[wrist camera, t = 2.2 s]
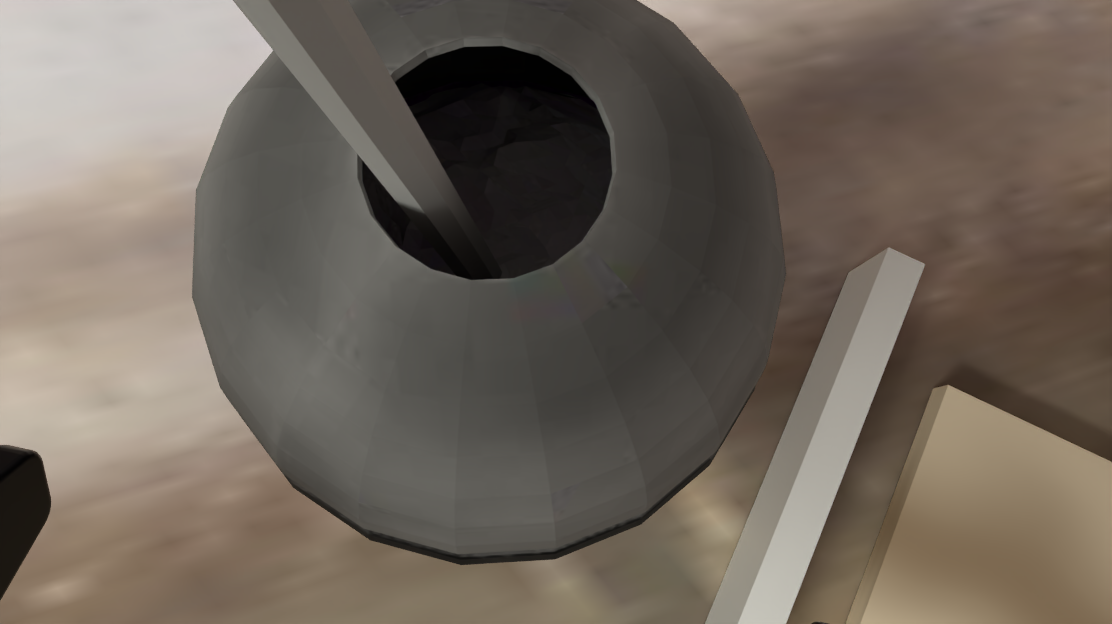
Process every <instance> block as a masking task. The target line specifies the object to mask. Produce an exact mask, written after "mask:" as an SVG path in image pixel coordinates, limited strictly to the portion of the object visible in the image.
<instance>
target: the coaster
mask: <svg viewBox="0 0 1112 624" xmlns="http://www.w3.org/2000/svg"><path fill="white" fill-rule="evenodd" d="M846 624H1112V462H1111V461H1109V460H1106V459H1104V458H1102V457H1100V456H1098V455H1096V454H1094V453H1092V452H1090V451H1087V450H1085V449H1083V448H1081V447H1079V446H1077V445H1075V444H1073V443H1070V442H1068V441H1066V440H1064V439H1062V438H1060V437H1058V436H1056V435H1053V434H1051V433H1049V432H1047V431H1045V430H1043V429H1041V428H1039V427H1036V426H1034V425H1032V424H1030V423H1028V422H1026V421H1024V420H1022V419H1020V418H1017V417H1015V416H1013V415H1011V414H1009V413H1007V412H1005V411H1003V410H1000V409H998V408H996V407H994V406H992V405H990V404H988V403H986V402H983V401H981V400H979V399H977V398H975V397H973V396H971V395H969V394H967V393H964V392H962V391H960V390H958V389H956V388H954V387H952V386H950V385H946V386H941V387H937V388H933V390H932V393H931V395H930V398H929V401H928V403H927V406H926V409H925V411H924V414H923V417H922V419H921V422H920V425H919V428H918V430H917V433H916V436H915V438H914V441H913V444H912V446H911V449H910V452H909V454H908V457H907V460H906V462H905V465H904V468H903V471H902V473H901V476H900V479H899V481H898V484H897V487H896V489H895V492H894V495H893V497H892V500H891V503H890V505H889V508H888V511H887V514H886V516H885V519H884V522H883V524H882V527H881V530H880V532H879V535H878V538H877V540H876V543H875V546H874V549H873V551H872V554H871V557H870V559H869V562H868V565H867V567H866V570H865V573H864V575H863V578H862V581H861V583H860V586H859V589H858V592H857V594H856V597H855V600H854V602H853V605H852V608H851V610H850V613H849V616H848V618H847V621H846Z"/></svg>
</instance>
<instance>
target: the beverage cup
mask: <svg viewBox="0 0 1112 624" xmlns="http://www.w3.org/2000/svg"><path fill="white" fill-rule="evenodd" d="M233 1H234V2H235V3H236V5H237V6H238V7H239V8H240V10H241V11H242V12H243V13H244V15H245V16H246V17H247V18H248V20H249V21H250V22H251V23H252V24H253V26H254V27H255V28H256V29H257V31H258V32H259V33H260V34H261V36H262V37H263V38H264V39H265V40H266V42H267V43H268V44H269V45H270V47H271V48H272V49H273V50H274V51H273V52H272V53H271V54H270V55H269V57H268V58H267V59H266V60H265V62H264V63H263V64H262V65H261V66H260V68H259V69H258V70H257V71H256V73H255V74H254V75H253V76H252V78H251V79H250V80H249V81H248V82H247V84H246V85H245V86H244V87H243V89H242V90H241V91H240V92H239V93H238V95H237V96H236V97H235V99H234V100H233V101H232V103H231V104H230V106H229V107H228V109H227V111H226V114H225V117H224V119H223V122H222V124H221V127H220V130H219V132H218V135H217V137H216V140H215V143H214V145H213V148H212V150H211V153H210V156H209V158H208V161H207V163H206V166H205V169H204V171H203V174H202V176H201V179H200V182H199V184H198V187H197V189H196V203H195V230H194V256H193V285H192V298H193V301H194V304H195V308H196V311H197V314H198V317H199V321H200V324H201V327H202V330H203V334H204V337H205V340H206V343H207V346H208V350H209V353H210V356H211V359H212V363H213V366H214V369H215V372H216V376H217V379H218V382H219V385H220V388H221V389H222V391H223V392H224V394H225V395H226V397H227V398H228V400H229V401H230V402H231V404H232V405H233V407H234V408H235V409H236V411H237V412H238V413H239V415H240V416H241V418H242V419H243V420H244V422H245V423H246V424H247V426H248V427H249V428H250V430H251V431H252V432H253V434H254V435H255V437H256V438H257V439H258V441H259V442H260V443H261V445H262V446H263V447H264V449H265V450H266V451H267V453H268V454H269V455H270V457H271V458H272V459H273V461H274V462H275V464H276V465H277V466H278V468H279V469H280V470H281V472H282V473H283V474H284V476H285V477H286V478H287V480H288V481H289V482H290V484H291V485H292V486H293V488H295V489H296V490H297V491H299V492H300V493H302V494H303V495H305V496H306V497H308V498H309V499H311V500H312V501H314V502H315V503H317V504H318V505H320V506H321V507H322V508H324V509H325V510H327V511H328V512H330V513H331V514H333V515H334V516H336V517H337V518H339V519H340V520H342V521H343V522H344V523H346V524H347V525H349V526H350V527H352V528H353V529H355V530H356V531H358V532H359V533H361V534H362V535H364V536H365V537H366V538H368V539H369V540H372V541H375V542H379V543H383V544H386V545H390V546H394V547H397V548H401V549H405V550H408V551H412V552H416V553H419V554H423V555H427V556H430V557H434V558H438V559H441V560H445V561H449V562H452V563H456V564H460V565H468V564H484V563H501V562H517V561H534V560H550V559H557V558H559V557H562V556H564V555H567V554H569V553H572V552H574V551H576V550H579V549H581V548H584V547H586V546H589V545H591V544H594V543H596V542H599V541H601V540H604V539H606V538H608V537H611V536H613V535H616V534H618V533H621V532H623V531H626V530H628V529H631V528H633V527H636V526H638V525H640V524H642V523H643V522H644V521H645V520H647V519H648V518H649V517H650V516H651V515H652V514H653V513H655V512H656V511H657V510H658V509H659V508H660V507H662V506H663V505H664V504H665V503H666V502H667V501H669V500H670V499H671V498H672V497H673V496H674V495H676V494H677V493H678V492H679V491H680V490H681V489H683V488H684V487H685V486H686V485H687V484H688V483H690V482H691V481H692V480H693V479H694V478H695V477H696V476H698V475H699V474H700V473H701V472H702V471H703V470H705V469H706V468H707V467H708V466H709V465H710V464H711V462H712V460H713V459H714V457H715V455H716V453H717V452H718V450H719V448H720V447H721V445H722V443H723V442H724V440H725V438H726V437H727V435H728V433H729V432H730V430H731V428H732V426H733V425H734V423H735V421H736V420H737V418H738V416H739V415H740V413H741V411H742V410H743V408H744V406H745V405H746V403H747V401H748V399H749V398H750V396H751V394H752V393H753V391H754V389H755V385H756V383H757V381H758V380H759V378H760V376H761V375H762V373H763V371H764V368H765V366H766V364H767V361H768V357H769V352H770V347H771V342H772V338H773V333H774V328H775V324H776V319H777V314H778V309H779V305H780V300H781V295H782V291H783V286H784V281H785V276H786V269H785V260H784V251H783V243H782V234H781V225H780V216H779V208H778V199H777V190H776V183H775V177H774V172H773V170H772V167H771V165H770V163H769V161H768V159H767V156H766V154H765V152H764V150H763V148H762V145H761V143H760V141H759V139H758V137H757V135H756V132H755V130H754V128H753V126H752V124H751V121H750V119H749V117H748V115H747V113H746V110H745V108H744V106H743V104H742V102H741V99H740V97H739V95H738V94H737V93H736V92H735V90H734V89H733V88H732V87H731V86H730V85H729V84H728V83H727V81H726V80H725V79H724V78H723V77H722V76H721V75H720V74H719V73H718V71H717V70H716V69H715V68H714V67H713V66H712V65H711V64H710V63H709V61H708V60H707V59H706V58H705V57H704V56H703V55H702V54H701V53H700V51H699V50H698V49H697V48H696V47H695V46H694V45H693V44H692V42H691V41H690V40H689V39H688V38H687V37H686V36H685V35H684V34H683V32H682V31H681V30H680V29H679V28H678V27H677V26H676V25H675V24H674V23H673V22H671V21H670V20H668V19H666V18H665V17H663V16H662V15H660V14H658V13H657V12H655V11H653V10H652V9H650V8H648V7H647V6H645V5H643V4H642V3H640V2H639V1H637V0H233Z"/></svg>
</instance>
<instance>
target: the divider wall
mask: <svg viewBox="0 0 1112 624" xmlns="http://www.w3.org/2000/svg"><path fill="white" fill-rule="evenodd" d="M924 266H925V264H924V263H922V262H919V261H917V260H915V259H913V258H911V257H909V256H907V255H904V254H902V253H900V252H898V251H896V250H894V249H892V248H889V247H888V248H887V249H885V250H883V251H882V252H880V253H879V254H877V255H875V256H874V257H872V258H871V259H869V260H867V261H866V262H864V263H863V264H861V265H860V266H858V267H856V268H855V269H853V270H852V271H850V272H849V273H848V275H847V278H846V280H845V282H844V285H843V287H842V290H841V292H840V295H839V297H838V300H837V302H836V304H835V307H834V309H833V312H832V314H831V317H830V319H829V322H828V324H827V326H826V329H825V331H824V334H823V336H822V339H821V341H820V344H819V346H818V348H817V351H816V353H815V356H814V358H813V361H812V363H811V366H810V368H809V370H808V373H807V375H806V378H805V380H804V383H803V385H802V388H801V390H800V392H799V395H798V397H797V400H796V402H795V405H794V407H793V410H792V412H791V414H790V417H789V419H788V422H787V424H786V427H785V429H784V432H783V434H782V436H781V439H780V441H779V444H778V446H777V449H776V451H775V454H774V456H773V458H772V461H771V463H770V466H769V468H768V471H767V473H766V476H765V478H764V480H763V483H762V485H761V488H760V490H759V493H758V495H757V498H756V500H755V502H754V505H753V507H752V510H751V512H750V515H749V517H748V519H747V522H746V524H745V527H744V529H743V532H742V534H741V537H740V539H739V541H738V544H737V546H736V549H735V551H734V554H733V556H732V559H731V561H730V563H729V566H728V568H727V571H726V573H725V576H724V578H723V581H722V583H721V585H720V588H719V590H718V593H717V595H716V598H715V600H714V603H713V605H712V607H711V610H710V612H709V615H708V617H707V620H706V622H705V624H786V622H787V620H788V617H789V615H790V612H791V609H792V607H793V604H794V602H795V599H796V597H797V594H798V591H799V589H800V586H801V584H802V581H803V578H804V576H805V573H806V571H807V568H808V566H809V563H810V560H811V558H812V555H813V553H814V550H815V548H816V545H817V542H818V540H819V537H820V535H821V532H822V529H823V527H824V524H825V522H826V519H827V517H828V514H829V511H830V509H831V506H832V504H833V501H834V499H835V496H836V493H837V491H838V488H839V486H840V483H841V481H842V478H843V475H844V473H845V470H846V468H847V465H848V462H849V460H850V457H851V455H852V452H853V450H854V447H855V444H856V442H857V439H858V437H859V434H860V432H861V429H862V426H863V424H864V421H865V419H866V416H867V413H868V411H869V408H870V406H871V403H872V401H873V398H874V395H875V393H876V390H877V388H878V385H879V383H880V380H881V377H882V375H883V372H884V370H885V367H886V364H887V362H888V359H889V357H890V354H891V352H892V349H893V346H894V344H895V341H896V339H897V336H898V334H899V331H900V328H901V326H902V323H903V321H904V318H905V315H906V313H907V310H908V308H909V305H910V303H911V300H912V297H913V295H914V292H915V290H916V287H917V285H918V282H919V279H920V277H921V274H922V272H923V269H924Z"/></svg>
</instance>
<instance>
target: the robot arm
mask: <svg viewBox="0 0 1112 624" xmlns="http://www.w3.org/2000/svg"><path fill="white" fill-rule="evenodd" d="M50 508H51V496H50V492H49V487H48V483H47V478H46V474H45V470H44V465H43V461H42V458H41V456H40V455H39V454H38V453H37V452H35V451H33V450H29V449H24V448H19V447H15V446H10V445H0V600H1V599H2V597H3V595H4V593H5V592H6V590H7V588H8V586H9V585H10V583H11V581H12V580H13V578H14V576H15V574H16V573H17V571H18V569H19V567H20V566H21V564H22V562H23V560H24V559H25V557H26V555H27V554H28V552H29V550H30V548H31V547H32V545H33V543H34V541H35V540H36V538H37V536H38V535H39V533H40V531H41V529H42V528H43V526H44V524H45V522H46V520H47V518H48V515H49V513H50ZM812 624H828V623H823V622H813V623H812Z"/></svg>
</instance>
